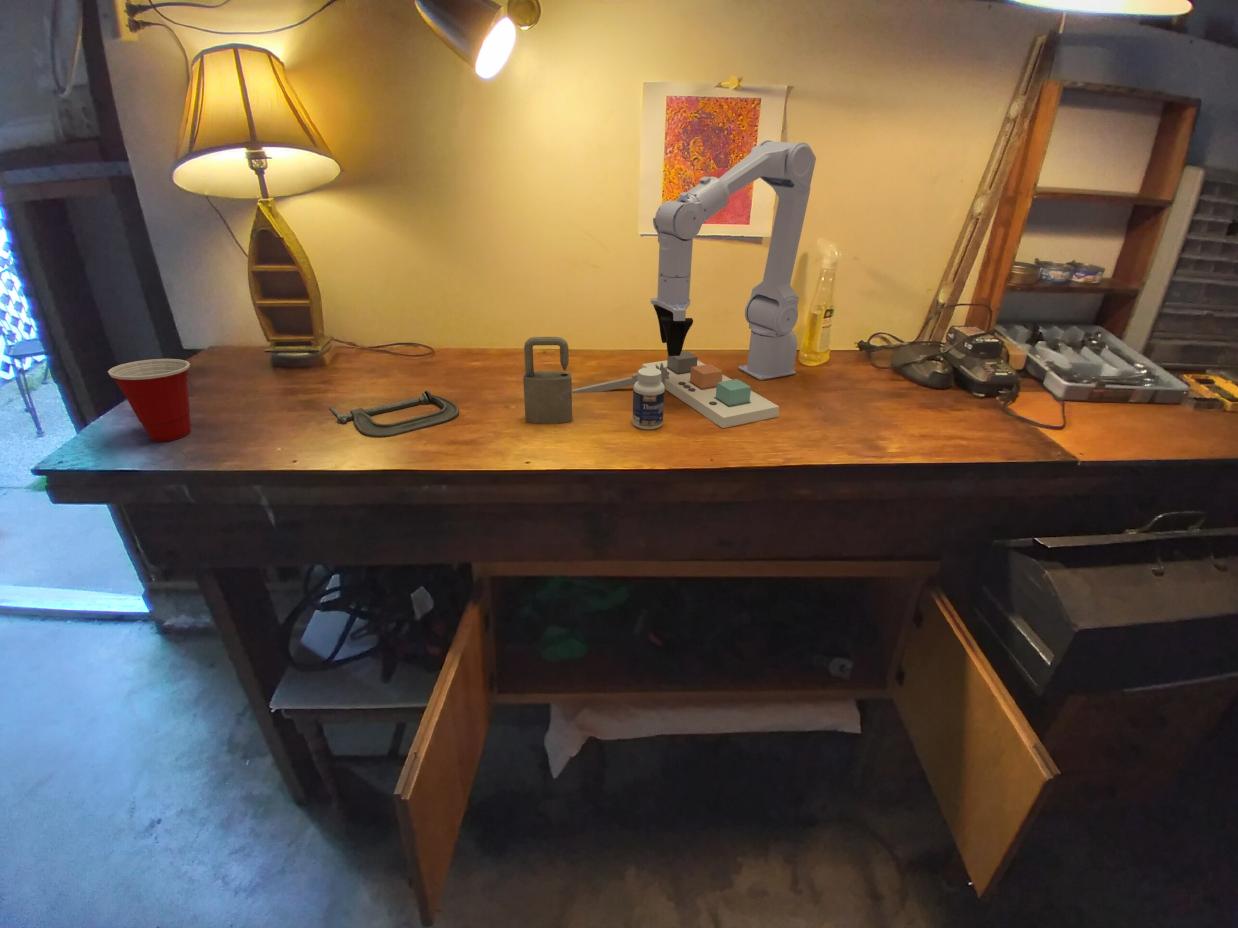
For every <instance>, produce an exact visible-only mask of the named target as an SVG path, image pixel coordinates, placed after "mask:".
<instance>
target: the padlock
mask: <svg viewBox="0 0 1238 928" xmlns="http://www.w3.org/2000/svg"><path fill="white" fill-rule="evenodd" d="M534 346H559V357H560V358H559V361H560V365H561V368H562V370H563V371H560V370H543V371H541V370H538V371H537V370H536V371H535V369H534V368H535V367H534V351H533V348H534ZM569 351H570V350H569V345H568V341H567V340H566V339H564V338H563V337H560V336H533V337H529V338H528V339H527V340H526V341H525V343H524V346H523V352H524V353H523V354H524V368H525V369H524V371H525V372H523V376H522V383H523V396H524V397H523V398H524V419H525V422H526V423H531V424H532V423H534V424H563V423H568V422H570V423H571V422H573V393H572V390H573V387H572V385H573V384H572V382H573V381H572V379H573V378H572V372H570V371H568V372H567V368H568V365H569V363H570V359H569V358H570V356H569Z"/></svg>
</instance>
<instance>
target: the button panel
mask: <svg viewBox="0 0 1238 928" xmlns="http://www.w3.org/2000/svg"><path fill="white" fill-rule="evenodd" d="M661 363H662V364H663V367H664V368H665V367H666V368H667V360H662V361H655V362H654V361H653V362H648V363H647V362H646V363H641V369H642V368H656V365H655V364H657V366H658V367H659V368H660V365H661ZM701 365H706V364H705V363H703V362H702V361H700V360H698V359H697V366H701ZM667 372H668V376H669V379H665V391H667V392H669V393H670V394H671V395H673V396H675V397H676V398H677V399H679V400H680V401H682V403H683V402H684V403H685V404H686V405H688V406H690V408H692V409H693V410H695V411H697V412H698V413H700V414H701V415H702V416H704V417H705V418H707V419H708V420H709V421H711V422H712V423H714V424H716V425H717V426H718V427H720V428H722V429H726V428H731V427H735V426H739V425H740V426H741V425H745V424H750V423H755V422H759V421H764V420H769V419H773V418H778V417H779V412H780V406H779V405H777V404H775V403H774V402H772V401H770V400H768V399H767V398H765V397H763V396H761V395H760V394H758V393H757V392H754V391H753V390H751V393H750V401H749V403H744V404H739V405H733V406H728V405H726V404H725V403H723V402H722V401H720V400H718V399H717V398H716V388H717V387H712V388H707V389H701V388H699V387H698V386H696V385H694V384H693V383H691V382H690V374H691V372H688V373H682V374H677V373H675V372H674V371H672V370H671V369H669V368H667ZM728 380H733V379H731V378H730V377H729V376H726V374H725V375H724V374H723V375H722V382H723V381H728ZM660 382H662V383H663V380H662V379H661V381H660ZM663 384H664V383H663Z"/></svg>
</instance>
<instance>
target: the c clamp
mask: <svg viewBox="0 0 1238 928" xmlns="http://www.w3.org/2000/svg"><path fill="white" fill-rule="evenodd" d="M420 404H421V405H430V404H434V405H436V406H438V407H439V408H440V410H438V411H436V412H432V413H428V414H423V415H420V416H415V417H411V418H408V419H405V420H400V421H397V422H391V423H379V422H376V421H375V420H374V419H373V418H372V416H375V415H380V414H384V413H389V412H393V411H396V410H401V409H405V408H409V407H414V406H418V405H420ZM328 410H329V411H330V412H331V413H332V414H334V416H336V420H337V422H338V423H339V424H342V423H343V424H347V422H349V421H353V422H354V425H355V427H356V429H357V430H358V431H359V433H360V434H362V435H363V436H364V437H365V436H366V437H368V438H389V437H395V436H399V435H403V434H407V433H411V432H414V431H419V430H421V429H422V430H423V429H425V428H431V427H433V426H438V425H441V424H446V423H449V422H451V421H453V420H455V419H456V418H457V417H458V416H459V414H460V408H459V406H458V405H456V403H455V402H453V401H451V400H450V399H447V398H444V397H442V396H439V395H434V394H432V393H431V392H430V391H429V390H425V391H423V392H422V393H421V396H419V397H412V398H409V399H405V400H400V401H395V402H391V403H387V404H383V405H378V406H373V407H369V408H366V409H364V408H363V407H358V408H354V409H351V410H349V411H350V412H349V413H347V412H346V413H342V414H341V413H340V412H338V411H337V410H336V409H335V407H334V406H329V407H328Z"/></svg>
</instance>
